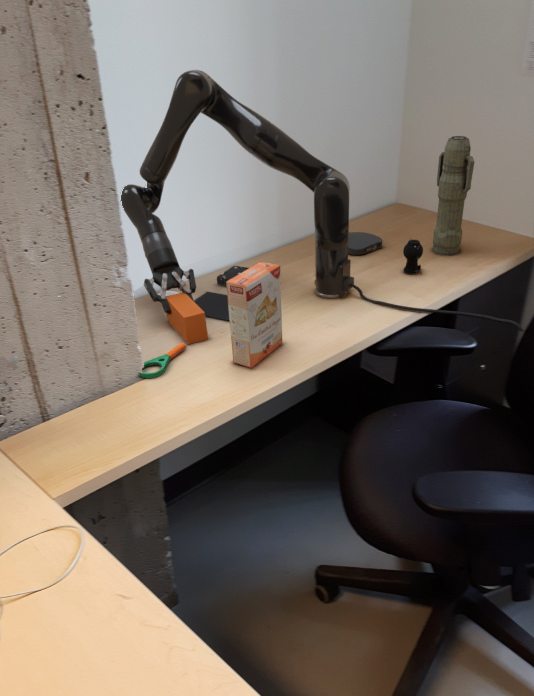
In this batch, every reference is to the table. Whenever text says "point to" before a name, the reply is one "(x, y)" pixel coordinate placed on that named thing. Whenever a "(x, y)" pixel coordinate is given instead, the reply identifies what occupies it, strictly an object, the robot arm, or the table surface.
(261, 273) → the cracker box
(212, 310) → the desk mat
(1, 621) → the table surface
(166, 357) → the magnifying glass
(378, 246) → the media streaming box
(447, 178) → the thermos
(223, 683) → the table surface
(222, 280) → the disk drive
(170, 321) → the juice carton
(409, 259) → the gumball machine
